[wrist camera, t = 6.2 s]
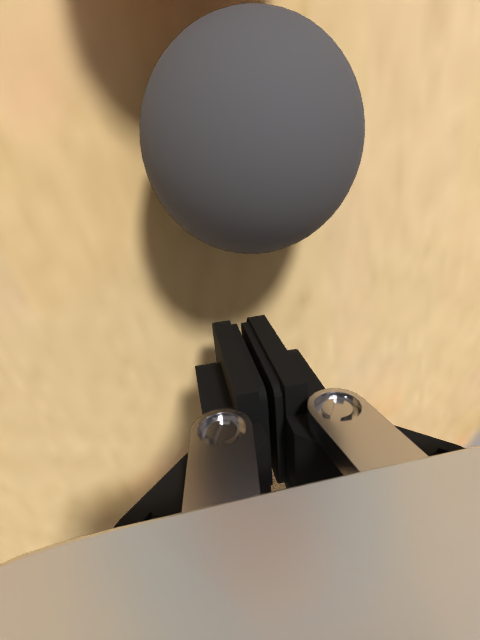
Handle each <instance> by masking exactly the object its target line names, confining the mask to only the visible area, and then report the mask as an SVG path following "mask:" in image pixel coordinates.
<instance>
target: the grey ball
mask: <svg viewBox="0 0 480 640" xmlns="http://www.w3.org/2000/svg"><path fill="white" fill-rule="evenodd" d="M139 126H140V146H141V152H142V159H143V162H144V166H145V169H146V173H147V176H148V178H149V181H150V183H151V185H152V188H153V190H154V192H155V193H156V195H157V197H158V199H159V201H160V202H161V204H162V205H163V206H164V208H165V209H166V211H167V212H168V213H169V215H170V216H171V217H172V218H173V219H174V220H175V221H176V222H177V223H178V224H179V225H180V226H181V227H182V228H184V229H185V230H186V231H187V232H188V233H190V234H191V235H193V236H194V237H196V238H197V239H199V240H201V241H202V242H204V243H206V244H209V245H211V246H213V247H216V248H219V249H222V250H226V251H230V252H237V253H249V254H258V253H266V252H271V251H275V250H279V249H282V248H285V247H288V246H290V245H293V244H295V243H297V242H299V241H301V240H303V239H304V238H306V237H308V236H309V235H311V234H312V233H313V232H315V231H316V230H317V229H318V228H320V227H321V226H322V225H323V224H324V223H325V222H326V221H327V220H328V219H329V218H330V217H331V216H332V215H333V214H334V213H335V211H336V210H337V209H338V208H339V206H340V205H341V203H342V202H343V200H344V198H345V197H346V195H347V194H348V192H349V190H350V187H351V185H352V183H353V181H354V179H355V177H356V174H357V171H358V168H359V165H360V161H361V157H362V152H363V145H364V137H365V119H364V109H363V103H362V98H361V93H360V90H359V86H358V83H357V80H356V77H355V75H354V73H353V71H352V68H351V66H350V64H349V62H348V61H347V59H346V57H345V56H344V54H343V52H342V51H341V49H340V48H339V47H338V46H337V44H336V43H335V42H334V41H333V39H332V38H331V37H330V36H329V35H328V34H327V33H326V32H325V31H324V30H323V29H322V28H320V27H319V26H318V25H316V24H315V23H314V22H312V21H311V20H310V19H308V18H306V17H304V16H302V15H301V14H299V13H297V12H294V11H292V10H289V9H286V8H283V7H279V6H274V5H269V4H264V3H244V4H237V5H231V6H228V7H225V8H222V9H219V10H216V11H213V12H211V13H209V14H207V15H205V16H203V17H201V18H199V19H198V20H196V21H195V22H193V23H192V24H191V25H189V26H188V27H186V28H185V29H184V30H183V31H182V32H181V33H180V34H179V35H178V36H177V37H176V38H175V39H174V40H173V41H172V42H171V43H170V45H169V46H168V47H167V49H166V50H165V51H164V53H163V54H162V55H161V57H160V58H159V60H158V62H157V64H156V66H155V68H154V70H153V71H152V74H151V76H150V79H149V82H148V84H147V87H146V90H145V94H144V98H143V103H142V107H141V115H140V125H139Z"/></svg>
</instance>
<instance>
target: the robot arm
mask: <svg viewBox="0 0 480 640" xmlns="http://www.w3.org/2000/svg"><path fill="white" fill-rule="evenodd" d="M212 328H213V336H214V344H215V352H216V360H217V363H211V364H205V365H199V366H195V369H196V376H197V382H198V389H199V395H200V402H201V408H202V414H203V415H202V416H201V417H199V418H198V419H197V420H196V421H195V422H194V424H193V425H192V428H191V432H190V441H189V450H188V453H187V454H186V455H185V456H184V457H183V458H182V459H181V460H180V461H179V462H178V463H177V464H176V465H175V466H174V467H173V468H172V469H171V470H170V471H169V472H168V473H167V474H166V475H165V476H164V477H163V478H162V479H161V480H160V481H159V482H158V483H157V484H156V485H155V486H154V487H153V488H152V489H151V490H150V491H149V492H148V493H146V494H145V495H144V496H143V497H142V498H141V499H140V500H139V501H138V502H137V503H136V504H135V505H134V506H133V507H132V508H131V509H130V510H129V511H128V512H127V513H126V514H125V515H124V516H123V517H122V518H121V519H120V520H119V522H118V523H117V524H116V525H115V527H114V528H113V529H109V530H105V531H101V532H98V533H94V534H90V535H86V536H83V537H79V538H75V539H71V540H67V541H64V542H60V543H56V544H53V545H50V546H47V547H44V548H41V549H38V550H35V551H32V552H29V553H26V554H23V555H20V556H18V557H15V558H13V559H11V560H8V561H6V562H4V563H1V564H0V640H480V446H475V447H470V448H463V447H461V446H459V445H456V444H453V443H449V442H446V441H443V440H440V439H437V438H433V437H430V436H427V435H424V434H420V433H417V432H414V431H411V430H408V429H404V428H401V427H398V426H395V425H393V424H392V423H391V422H389V421H388V420H387V419H386V418H385V417H384V416H383V415H382V414H381V413H379V412H378V411H377V410H376V409H375V408H374V407H373V406H372V405H370V404H369V403H368V402H367V401H366V400H365V399H364V398H362V397H361V396H360V395H358V394H357V393H354V392H352V391H349V390H345V389H340V388H328V389H325V388H324V386H323V385H322V383H321V382H320V381H319V379H318V378H317V376H316V375H315V373H314V372H313V371H312V369H311V368H310V366H309V365H308V363H307V362H306V361H305V359H304V358H303V356H302V355H301V354H300V352H299V351H298V350H297V349H293V350H287V349H286V348H285V346H284V345H283V343H282V342H281V340H280V338H279V337H278V335H277V334H276V332H275V331H274V329H273V328H272V326H271V325H270V323H269V321H268V320H267V318H266V317H265V316H264V315H261V316H254V317H248V318H247V322H245V323H241V331H242V334H241V332H240V330H239V328H238V326H237V324H232V325H231V323H230V321H222V322H216V323H212ZM272 469H273V472H274V475H275V478H276V480H277V482H278V483H283V482H284V483H285V486H286V489H282V490H277V491H273V492H271V485H272V484H273V483H272Z"/></svg>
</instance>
